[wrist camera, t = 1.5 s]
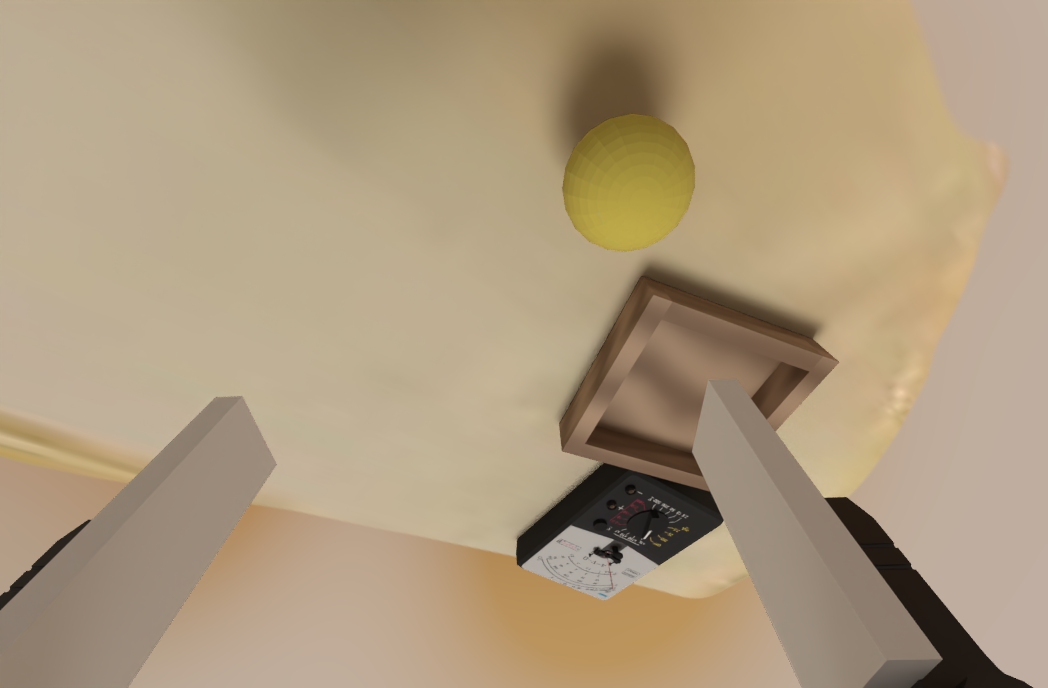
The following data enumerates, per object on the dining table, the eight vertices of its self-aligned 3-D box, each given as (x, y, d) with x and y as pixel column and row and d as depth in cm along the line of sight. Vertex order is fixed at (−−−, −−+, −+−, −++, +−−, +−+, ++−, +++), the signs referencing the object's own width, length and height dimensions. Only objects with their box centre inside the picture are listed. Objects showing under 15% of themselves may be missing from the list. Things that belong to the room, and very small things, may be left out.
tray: (641, 275, 32) (653, 294, 29) (812, 339, 34) (839, 362, 32) (559, 424, 39) (561, 451, 36) (704, 465, 42) (717, 493, 39)
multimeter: (715, 491, 45) (735, 533, 41) (599, 573, 53) (606, 615, 49) (625, 440, 41) (636, 481, 37) (514, 537, 49) (514, 580, 45)
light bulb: (535, 182, 28) (539, 222, 19) (596, 83, 25) (634, 80, 17) (612, 235, 30) (647, 293, 21) (678, 149, 27) (749, 178, 18)
